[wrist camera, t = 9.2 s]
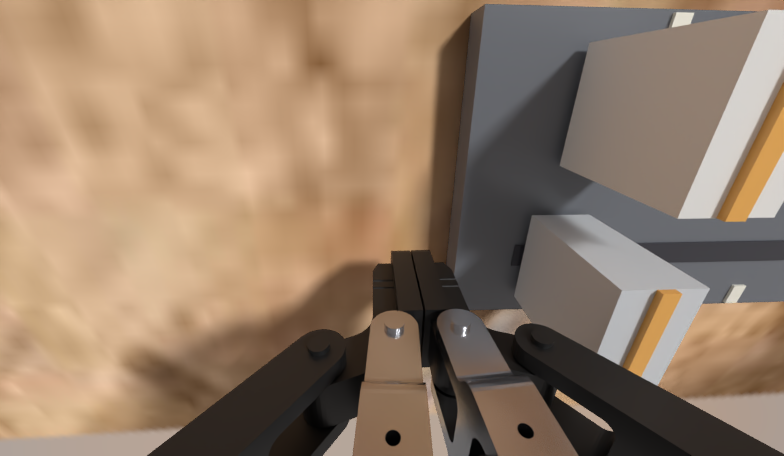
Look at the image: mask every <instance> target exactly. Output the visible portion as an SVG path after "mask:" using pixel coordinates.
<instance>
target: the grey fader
mask: <svg viewBox="0 0 784 456" xmlns="http://www.w3.org/2000/svg"><path fill="white" fill-rule="evenodd" d="M709 290H710V288H709V287H707V286H705V285H704V284H702V283H700V282H699V281H697V280H696V279H694V278H692V277H691V276H689V275H687V274H686V273H684V272H682V271H681V270H679V269H678V268H676V267H674V266H673V265H671V264H669V263H668V262H666V261H664V260H663V259H661V258H660V257H658V256H656V255H655V254H653V253H651V252H650V251H648V250H646V249H645V248H643V247H642V246H640V245H638V244H637V243H635V242H633V241H632V240H630V239H628V238H627V237H625V236H624V235H622V234H620V233H619V232H617V231H615V230H614V229H612V228H610V227H609V226H607V225H606V224H604V223H602V222H601V221H599V220H597V219H596V218H594V217H592V216H591V215H532V217H531V221H530V226H529V230H528V235H527V240H526V244H525V249H524V253H523V258H522V262H521V267H520V271H519V276H518V281H517V285H516V290H515V294H514V297H515V298H516V300H517V301H518V303H519V304H520V306H521V307H522V309H523V310H524V312H525V313H526V315H527V316H528V318H529V319H530V321H531V322H532V324H540V325H544V326H546V327H549V328H551V329H553V330H555V331H557V332H559V333H560V334H562V335H564V336H566V337H568V338H570V339H572V340H573V341H575V342H577V343H579V344H581V345H583V346H584V347H586V348H588V349H590V350H592V351H594V352H596V353H597V354H599V355H601V356H603V357H605V358H607V359H609V360H610V361H612V362H614V363H616V364H618V365H620V366H621V367H623V368H625V369H627V370H629V371H631V372H633V373H634V374H636V375H638V376H640V377H642V378H644V379H646V380H647V381H649V382H651V383H653V384H655V385H657V386H658V384H659V382H660V380H661V378H662V376H663V375H664V373H665V371H666V369H667V367H668V365H669V364H670V362H671V360H672V358H673V356H674V354H675V352H676V351H677V349H678V347H679V345H680V343H681V341H682V339H683V338H684V336H685V334H686V332H687V330H688V328H689V327H690V325H691V323H692V321H693V319H694V317H695V315H696V314H697V312H698V310H699V308H700V306H701V304H702V303H703V301H704V299H705V297H706V295H707V293H708V291H709Z"/></svg>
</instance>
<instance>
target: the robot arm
mask: <svg viewBox="0 0 784 456" xmlns="http://www.w3.org/2000/svg"><path fill="white" fill-rule="evenodd" d="M422 367H430V370H431V375H432V377H431V392H432V396H433V399H434V403H435V407H436V410H437V414H438V417H439V421H440V425H441V428H442V432H443V436H444V439H445V443H446V447H447V450H448V456H784V454H783V453H781V452H779V451H777V450H775V449H773V448H771V447H769V446H768V445H766V444H764V443H762V442H760V441H758V440H757V439H754V438H753V437H751V436H749V435H747V434H746V433H744V432H742V431H740V430H738V429H736V428H734V427H733V426H731V425H729V424H727V423H725V422H723V421H721V420H720V419H718V418H716V417H714V416H712V415H710V414H708V413H706V412H705V411H703V410H701V409H699V408H697V407H695V406H694V405H692V404H690V403H688V402H686V401H684V400H683V399H681V398H679V397H677V396H675V395H673V394H671V393H670V392H668V391H666V390H664V389H662V388H660V387H659V386H657V385H655V384H653V383H651V382H649V381H647V380H646V379H644V378H642V377H640V376H638V375H636V374H634V373H633V372H631V371H629V370H627V369H625V368H623V367H621V366H620V365H618V364H616V363H614V362H612V361H610V360H609V359H607V358H605V357H603V356H601V355H599V354H597V353H596V352H594V351H592V350H590V349H588V348H586V347H584V346H583V345H581V344H579V343H577V342H575V341H573V340H572V339H570V338H568V337H566V336H564V335H562V334H560V333H559V332H557V331H555V330H553V329H551V328H549V327H546V326H544V325H540V324H532V323H530V324H523V325H521V326H519V327H518V328H517V329H516V331H515V335H513V334H508V333H503V332H498V331H494V330H491V329H488V328H486V326H485V325H484V323H483V321H482V320H481V319H480V318H479V317H478V316H477V315H475V314H474V313H472V312H470V311H469V309H468V306H467V304H466V302H465V299H464V297H463V295H462V292H461V290H460V288H459V287H458V283H457V281H456V279H455V276H454V274H453V271H452V269H451V268H449V267H448V266H447V265H446V264H445V263H444V262H440V263H434V261H433V258H432V255H431V252H430V250H415V251H411V252H410V251H391V264H378V265H377V266H376V268H375V269H374V270H373V320H372V322H371V324H370V326H369V327H368V328H367V329H366V330H365V331H363V332H362V333H360V334H358V335H355V336H352V337H349V338H346V339H344V338H343V337H342V336H341V335H340V334H339V333H337V332H335V331H332V330H327V329H321V330H315V331H312V332H309V333H307V334H305V335H304V336H302V337H301V338H300V339H298V340H297V341H296V342H294V343H293V344H292V345H290V346H289V347H288V348H287V349H285V350H284V351H283V352H281V353H280V354H279V355H277V356H276V357H275V358H274V359H272V360H271V361H270V362H268V363H267V364H266V365H264V366H263V367H262V368H261V369H259V370H258V371H257V372H255V373H254V374H253V375H251V376H250V377H249V378H248V379H246V380H245V381H244V382H242V383H241V384H240V385H238V386H237V387H236V388H234V389H233V390H232V391H231V392H229V393H228V394H227V395H225V396H224V397H223V398H221V399H220V400H219V401H218V402H216V403H215V404H214V405H212V406H211V407H210V408H208V409H207V410H206V411H205V412H203V413H202V414H201V415H199V416H198V417H197V418H195V419H194V420H193V421H192V422H190V423H189V424H188V425H186V426H185V427H184V428H182V429H181V430H180V431H179V432H177V433H176V434H175V435H173V436H172V437H171V438H169V439H168V440H167V441H165V442H164V443H163V444H162V445H160V446H159V447H158V448H156V449H155V450H154V451H152V452H151V453H150V454H149V455H147V456H323V454H324V453H325V452H326V451H327V450H328V448H329V447H330V446H331V444H333V442H334V441H335V440H336V439H337V438H338V436H339V435H340V434H341V433H342V431H343V430H344V429H345V428H346V426H347V424H348V422H349V420H350V419H352V418H355V417H357V423H356V431H355V439H354V448H353V456H433V451H432V440H431V430H430V419H429V408H428V397H427V388H426V383H423V376H422ZM557 389H558V390H559V391H561V392H562V393H564V394H565V395H567V396H568V397H570V398H571V399H573V400H574V401H576V402H577V403H579V404H580V405H582V406H583V407H585V408H586V409H588V410H589V411H591V412H593V413H594V414H595V415H597V416H598V417H600V418H602V419H603V420H604V421H606V423H608V424H609V426H610V427H611V428H612V429H613V431H614V432H612V431H607V430H605V429H603V428H601V427H600V426H598V425H597V424H595V423H594V422H592V421H591V420H589V419H588V418H586V417H585V416H583V415H582V414H581V413H579V412H578V411H576V410H575V409H573V408H572V407H570V406H569V405H567V404H566V403H564V402H563V401H561V400H560V399H559V398H557V397H556V396H555V394H556V391H557Z"/></svg>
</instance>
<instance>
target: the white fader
mask: <svg viewBox="0 0 784 456" xmlns="http://www.w3.org/2000/svg"><path fill="white" fill-rule="evenodd" d="M560 166H561V167H563V168H565V169H568V170H570V171H572V172H574V173H576V174H579V175H581V176H583V177H585V178H588V179H590V180H592V181H594V182H597V183H599V184H601V185H603V186H605V187H608V188H610V189H612V190H614V191H617V192H619V193H621V194H623V195H626V196H628V197H630V198H632V199H634V200H637V201H639V202H641V203H643V204H646V205H648V206H650V207H652V208H655V209H657V210H659V211H661V212H663V213H666V214H668V215H670V216H672V217H675V218H677V219H699V218H717V219H719V220H722V221H724V222H746V220H747V218H774V217H775V215H776V214H777V212H778V210H779V209H780V207H781V205H782V203H783V202H784V10H765V11H759V12H754V13H748V14H743V15H737V16H732V17H726V18H721V19H716V20H710V21H705V22H699V23H694V24H688V25H683V26H677V27H672V28H666V29H661V30H655V31H650V32H644V33H639V34H633V35H628V36H622V37H617V38H612V39H606V40H601V41H595V42H590V43H589V46H588V50H587V54H586V59H585V63H584V67H583V71H582V75H581V79H580V83H579V87H578V92H577V96H576V100H575V104H574V108H573V112H572V116H571V120H570V125H569V129H568V133H567V137H566V141H565V145H564V149H563V153H562V158H561V162H560Z"/></svg>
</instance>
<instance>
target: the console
mask: <svg viewBox="0 0 784 456" xmlns="http://www.w3.org/2000/svg"><path fill="white" fill-rule="evenodd" d="M754 12H757V11H720V10H684V9H647V8H611V7H574V6H538V5H501V4H484V5H483V6H482V7H480V8H479V9H477V10H476V11H474V12H473V13H472V14H471V21H470V31H469V41H468V51H467V61H466V71H465V81H464V91H463V101H462V111H461V121H460V131H459V141H458V151H457V161H456V171H455V181H454V191H453V201H452V211H451V221H450V231H449V241H448V251H447V261H446V265H447V266H448V267H449V268H451V269H452V271H453V274H454V276H455V279H456V281H457V283H458V287H459V288H460V290H461V292H462V295H463V297H464V299H465V302H466V304H467V306H468V309H469V310H498V309H522V307H521V306H520V304H519V303H518V301H517V300H516V298H515V297H514V294H515V290H516V285H517V281H518V276H519V271H520V267H521V262H522V258H523V253H524V249H525V244H526V240H527V235H528V230H529V226H530V221H531V217H532V215H591V216H592V217H594V218H596V219H597V220H599V221H601V222H602V223H604V224H606V225H607V226H609V227H610V228H612V229H614V230H615V231H617V232H619V233H620V234H622V235H624V236H625V237H627V238H628V239H630V240H632V241H633V242H635V243H637V244H638V245H640V246H642V247H643V248H645V249H646V250H648V251H650V252H651V253H653V254H655V255H656V256H658V257H660V258H661V259H663V260H664V261H666V262H668V263H669V264H671V265H673V266H674V267H676V268H678V269H679V270H681V271H682V272H684V273H686V274H687V275H689V276H691V277H692V278H694V279H696V280H697V281H699V282H700V283H702V284H704V285H705V286H707V287H709V288H710V290H709V291H708V293H707V295H706V297H705V299H704V301H703V303H702V304H708V303H743V302H778V301H784V202H783V203H782V205H781V207H780V209H779V210H778V212H777V214H776V215H775V217H774V218H747V220H746V222H724V221H722V220H719V219H717V218H699V219H677V218H675V217H672V216H670V215H668V214H666V213H663V212H661V211H659V210H657V209H655V208H652V207H650V206H648V205H646V204H643V203H641V202H639V201H637V200H634V199H632V198H630V197H628V196H626V195H623V194H621V193H619V192H617V191H614V190H612V189H610V188H608V187H605V186H603V185H601V184H599V183H597V182H594V181H592V180H590V179H588V178H585V177H583V176H581V175H579V174H576V173H574V172H572V171H570V170H568V169H565V168H563V167H561V166H560V162H561V158H562V153H563V149H564V145H565V141H566V137H567V133H568V129H569V125H570V120H571V116H572V112H573V108H574V104H575V100H576V96H577V92H578V87H579V83H580V79H581V75H582V71H583V67H584V63H585V59H586V54H587V50H588V46H589V43H590V42H595V41H601V40H606V39H612V38H617V37H622V36H628V35H633V34H639V33H644V32H650V31H655V30H661V29H666V28H672V27H677V26H683V25H688V24H694V23H699V22H705V21H710V20H716V19H721V18H726V17H732V16H737V15H743V14H748V13H754Z"/></svg>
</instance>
